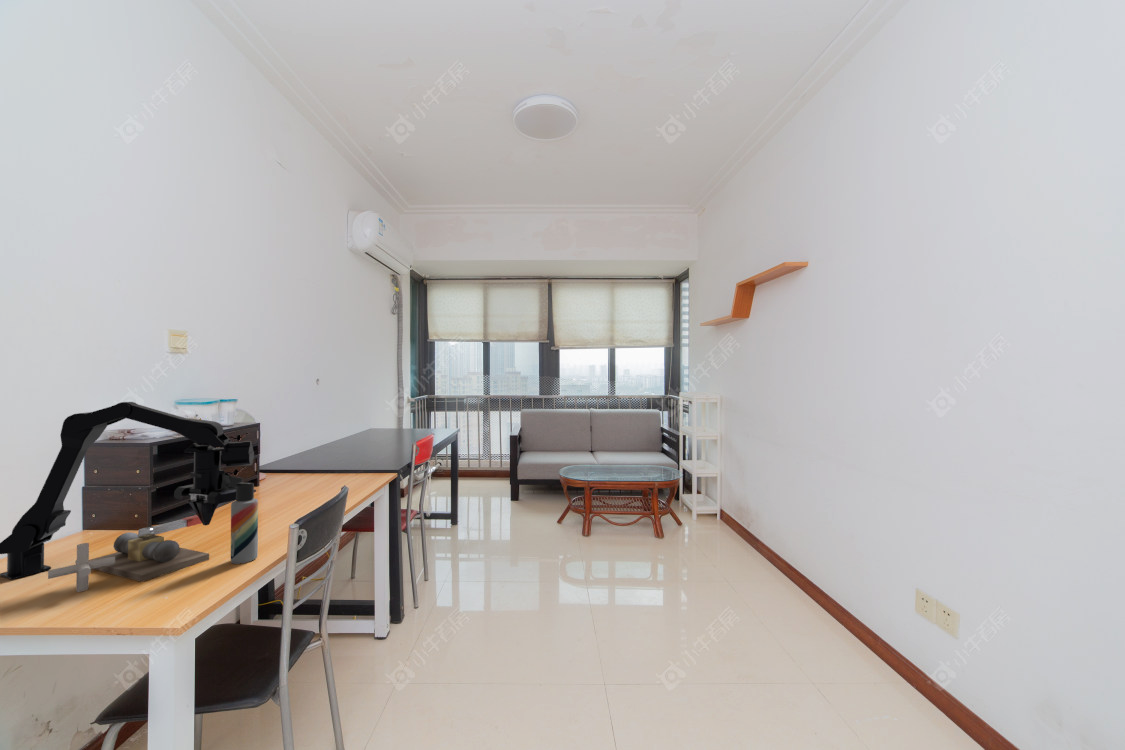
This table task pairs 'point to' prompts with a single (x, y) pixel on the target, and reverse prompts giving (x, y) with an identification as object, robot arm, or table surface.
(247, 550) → the lotion bottle
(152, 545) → the valve mount
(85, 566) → the pipe connector
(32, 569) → the robot arm
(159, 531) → the lever
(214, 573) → the table surface
